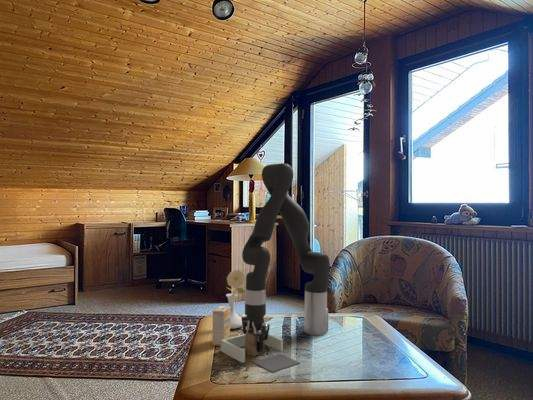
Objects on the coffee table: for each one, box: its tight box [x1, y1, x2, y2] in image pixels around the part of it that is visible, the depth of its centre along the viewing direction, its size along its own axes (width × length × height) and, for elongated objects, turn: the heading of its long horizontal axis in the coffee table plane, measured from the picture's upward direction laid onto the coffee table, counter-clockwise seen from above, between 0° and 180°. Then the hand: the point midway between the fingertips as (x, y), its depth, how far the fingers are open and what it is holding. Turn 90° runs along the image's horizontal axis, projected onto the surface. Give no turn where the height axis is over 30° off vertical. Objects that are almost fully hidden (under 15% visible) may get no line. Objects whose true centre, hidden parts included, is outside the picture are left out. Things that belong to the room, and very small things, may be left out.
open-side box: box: [220, 333, 284, 364], centre depth 144 cm, size 18×14×4 cm
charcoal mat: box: [253, 353, 301, 374], centre depth 134 cm, size 12×10×1 cm
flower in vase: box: [225, 269, 246, 330], centre depth 172 cm, size 13×11×25 cm
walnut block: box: [244, 330, 266, 357], centre depth 143 cm, size 5×5×7 cm
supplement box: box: [211, 305, 231, 347], centre depth 153 cm, size 8×5×13 cm, turn 168°
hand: (254, 349), depth 143 cm, fingers closed on walnut block, 5 cm apart
